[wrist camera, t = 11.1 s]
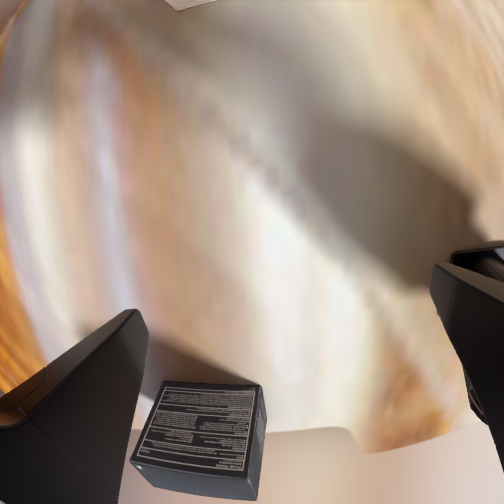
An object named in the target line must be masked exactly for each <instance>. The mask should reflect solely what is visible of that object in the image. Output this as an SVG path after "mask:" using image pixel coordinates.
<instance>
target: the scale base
mask: <svg viewBox="0 0 504 504" xmlns="http://www.w3.org/2000/svg"><path fill="white" fill-rule="evenodd" d="M165 1H166V2H167V3H168V4H170V5H171V6H172V7H173V8H174V9H175V10H177V11H179V10H182V9H186V8H189V7H193V6H197V5H201V4H205V3H209V2H213V1H217V0H165Z"/></svg>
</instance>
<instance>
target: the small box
mask: <svg viewBox="0 0 504 504" xmlns="http://www.w3.org/2000/svg"><path fill="white" fill-rule="evenodd" d="M266 422H267V417H266V410H265V403H264V398H263V391H262V387H261V386H260V385H214V384H195V383H181V382H168V381H163V382H162V384H161V386H160V390H159V393H158V395H157V397H156V400H155V402H154V404H153V406H152V409H151V411H150V414H149V416H148V418H147V421H146V423H145V425H144V428H143V430H142V433H141V435H140V437H139V440H138V442H137V445H136V447H135V449H134V452H133V454H132V455H131V457H130V459H129V462H130V463H131V464H132V465H133V466H134V467H135V468H136V469H137V470H138V471H139V473H140V474H141V475H142V476H143V477H144V478H145V479H146V480H147V481H148V482H149V483H150V484H151V485H152V486H154V487H157V488H161V489H166V490H172V491H176V492H182V493H188V494H194V495H200V496H208V497H215V498H224V499H235V500H249V501H256V500H257V496H258V488H259V480H260V472H261V464H262V456H263V447H264V439H265V429H266Z"/></svg>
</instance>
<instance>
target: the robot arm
mask: <svg viewBox="0 0 504 504" xmlns="http://www.w3.org/2000/svg"><path fill="white" fill-rule="evenodd" d="M457 257H459V258H458V260H456V258H457ZM430 295H431V297H432V300H433V302H434V304H435V307H436V309H437V311H438V314H439V316H440V319H441V321H442V323H443V326H444V328H445V331H446V333H447V335H448V337H449V339H450V341H451V343H452V345H453V347H454V349H455V351H456V353H457V355H458V357H459V359H460V361H461V363H462V366H463V371H464V376H465V381H466V387H467V392H468V398H469V402H470V407H471V409H472V410H473V411H474V412H475V414H476V415H477V417H478V418H479V419H480V420H481V421H482V422H484V423H485V424H487V425H488V426H489V429H490V431H491V434H492V437H493V440H494V443H495V445H496V449H497V452H498V455H499V459H500V462H501V465H502V468H503V472H504V246H499V247H491V248H482V249H474V250H466V251H457V252H455V253H453V255H452V257H451V263H447V262H441V263H436V264H434V265H433V267H432V272H431V280H430ZM148 338H149V332H148V329H147V326H146V324H145V322H144V320H143V317H142V315H141V313H140V311H139V310H138V309H127V310H124V311H123V312H121V313H120V314H118V315H117V316H116V317H114V318H113V319H111V320H110V321H108V322H107V323H106V324H104V325H103V326H101V327H100V328H99V329H97V330H96V331H94V332H93V333H91V334H90V335H89V336H87V337H86V338H84V339H83V340H82V341H80V342H79V343H77V344H76V345H75V346H73V347H72V348H71V349H69V350H68V351H66V352H65V353H64V354H62V355H61V356H59V357H58V358H57V359H55V360H54V361H53V362H51V363H50V364H48V365H47V367H44V368H43V369H41V370H40V371H39V372H37V373H36V374H35V375H33V376H32V377H30V378H29V379H28V380H26V381H25V382H23V383H22V384H20V385H19V386H17V387H16V388H14V389H13V390H11V391H10V392H8V393H6V394H5V395H3V396H2V397H1V398H0V504H118V498H119V497H118V496H119V491H120V485H121V479H122V473H123V467H124V462H125V457H126V452H127V446H128V442H129V437H130V432H131V427H132V422H133V418H134V413H135V409H136V404H137V400H138V396H139V392H140V387H141V383H142V379H143V373H144V366H145V359H146V352H147V345H148Z"/></svg>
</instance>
